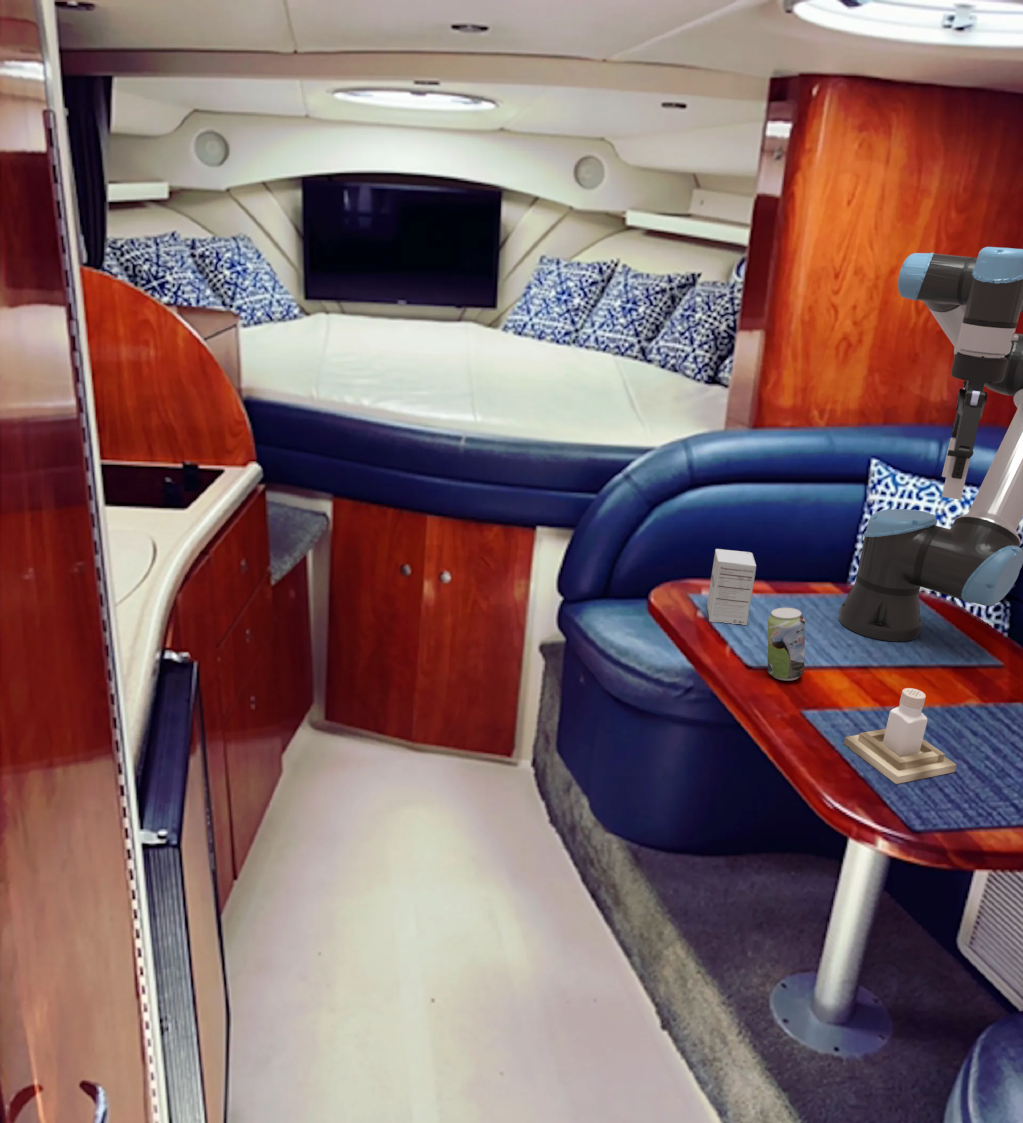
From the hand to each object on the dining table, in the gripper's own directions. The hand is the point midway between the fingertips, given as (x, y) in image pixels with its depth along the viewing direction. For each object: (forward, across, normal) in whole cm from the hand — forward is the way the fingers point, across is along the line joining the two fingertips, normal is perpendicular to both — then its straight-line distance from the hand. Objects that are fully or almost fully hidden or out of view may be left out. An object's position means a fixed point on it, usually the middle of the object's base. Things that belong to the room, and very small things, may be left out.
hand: (950, 487), depth 155 cm
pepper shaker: (+34, -28, 0) cm, 44 cm away
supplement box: (+35, +11, +33) cm, 49 cm away
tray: (+35, -28, 0) cm, 45 cm away
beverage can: (+35, -10, +20) cm, 41 cm away
